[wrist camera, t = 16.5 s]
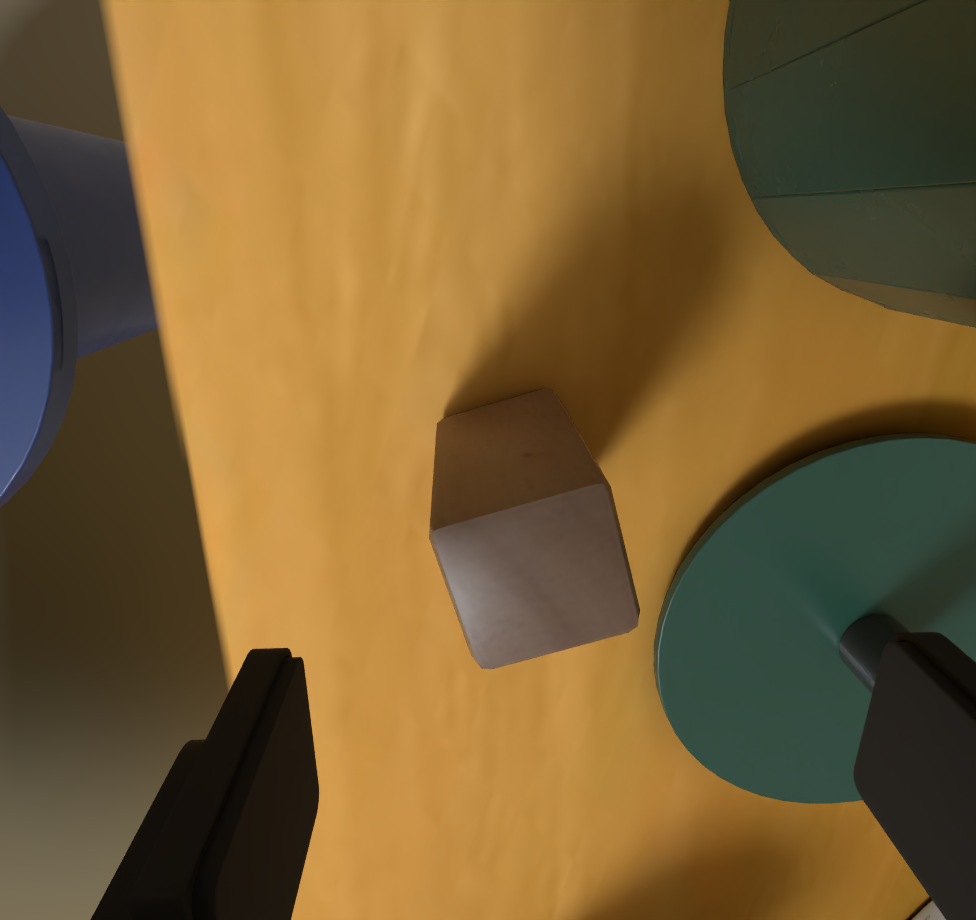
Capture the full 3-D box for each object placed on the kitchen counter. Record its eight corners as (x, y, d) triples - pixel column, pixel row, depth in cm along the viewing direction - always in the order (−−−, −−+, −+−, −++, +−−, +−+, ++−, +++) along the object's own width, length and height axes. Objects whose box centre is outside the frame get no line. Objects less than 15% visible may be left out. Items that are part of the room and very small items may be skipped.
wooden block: (553, 382, 21) (611, 476, 13) (581, 492, 22) (648, 634, 15) (433, 417, 21) (422, 530, 13) (468, 524, 22) (476, 680, 15)
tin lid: (633, 790, 27) (682, 944, 21) (668, 431, 21) (747, 509, 16) (995, 773, 28) (1137, 918, 22) (1119, 422, 22) (1351, 493, 16)
